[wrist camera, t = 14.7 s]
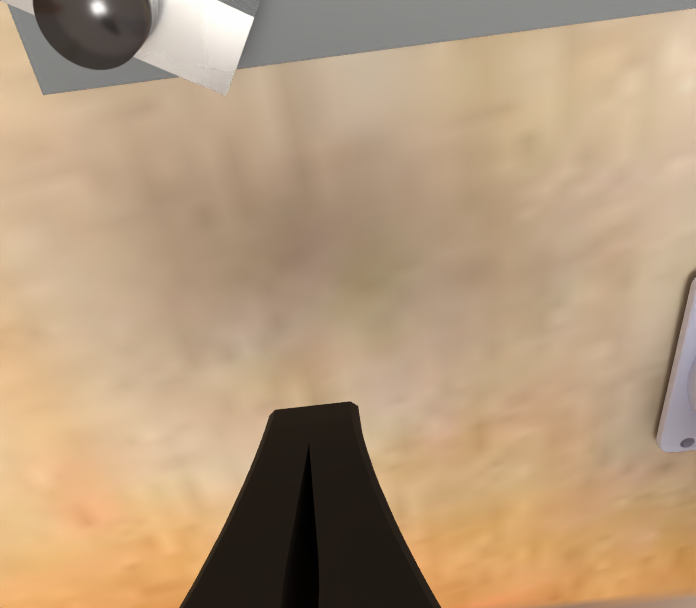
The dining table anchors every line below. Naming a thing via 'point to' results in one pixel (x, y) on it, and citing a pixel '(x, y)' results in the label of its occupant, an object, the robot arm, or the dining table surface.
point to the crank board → (344, 31)
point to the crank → (149, 34)
